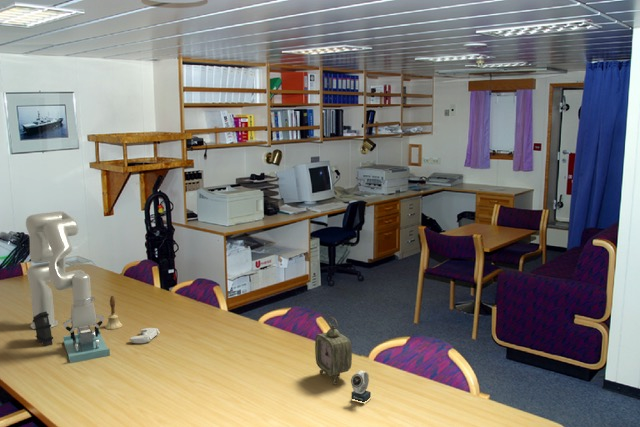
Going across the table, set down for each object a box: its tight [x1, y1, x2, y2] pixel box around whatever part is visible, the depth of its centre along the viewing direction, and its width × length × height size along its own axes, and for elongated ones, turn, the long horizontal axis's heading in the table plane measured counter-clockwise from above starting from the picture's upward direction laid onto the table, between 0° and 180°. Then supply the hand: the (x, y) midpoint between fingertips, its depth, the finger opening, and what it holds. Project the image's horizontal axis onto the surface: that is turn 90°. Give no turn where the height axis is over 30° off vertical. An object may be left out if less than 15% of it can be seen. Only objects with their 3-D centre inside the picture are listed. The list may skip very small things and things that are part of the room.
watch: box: [350, 369, 371, 402], centre depth 210 cm, size 6×8×11 cm
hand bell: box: [104, 295, 123, 330], centre depth 285 cm, size 8×8×16 cm
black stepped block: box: [32, 311, 54, 347], centre depth 266 cm, size 4×13×15 cm, turn 46°
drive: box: [76, 325, 94, 352], centre depth 258 cm, size 12×5×8 cm, turn 30°
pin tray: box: [62, 329, 111, 364], centre depth 259 cm, size 26×16×5 cm, turn 30°
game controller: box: [129, 327, 161, 345], centre depth 270 cm, size 14×4×10 cm
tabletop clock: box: [314, 317, 353, 385], centre depth 227 cm, size 14×9×25 cm, turn 29°
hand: (85, 337), depth 258 cm, fingers open, 9 cm apart
